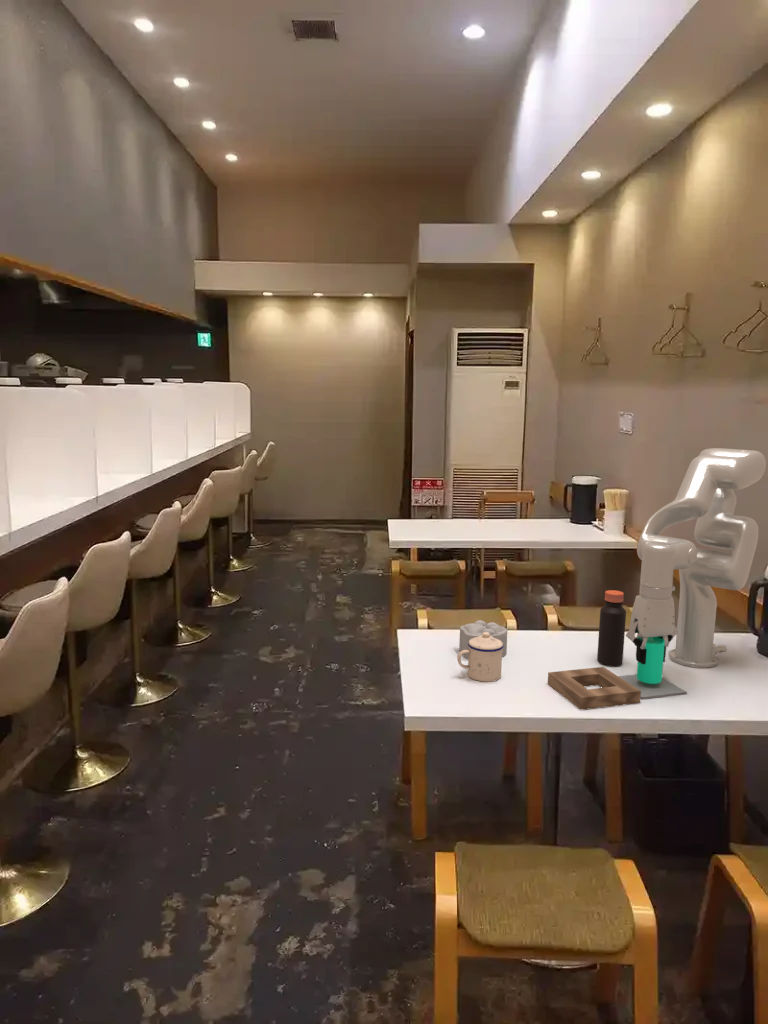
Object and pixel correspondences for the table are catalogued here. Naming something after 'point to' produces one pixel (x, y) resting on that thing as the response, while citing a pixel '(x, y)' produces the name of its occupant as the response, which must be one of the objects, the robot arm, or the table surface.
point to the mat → (654, 688)
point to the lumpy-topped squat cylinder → (477, 630)
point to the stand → (583, 698)
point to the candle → (652, 661)
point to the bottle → (612, 630)
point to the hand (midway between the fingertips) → (650, 660)
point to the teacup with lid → (483, 658)
